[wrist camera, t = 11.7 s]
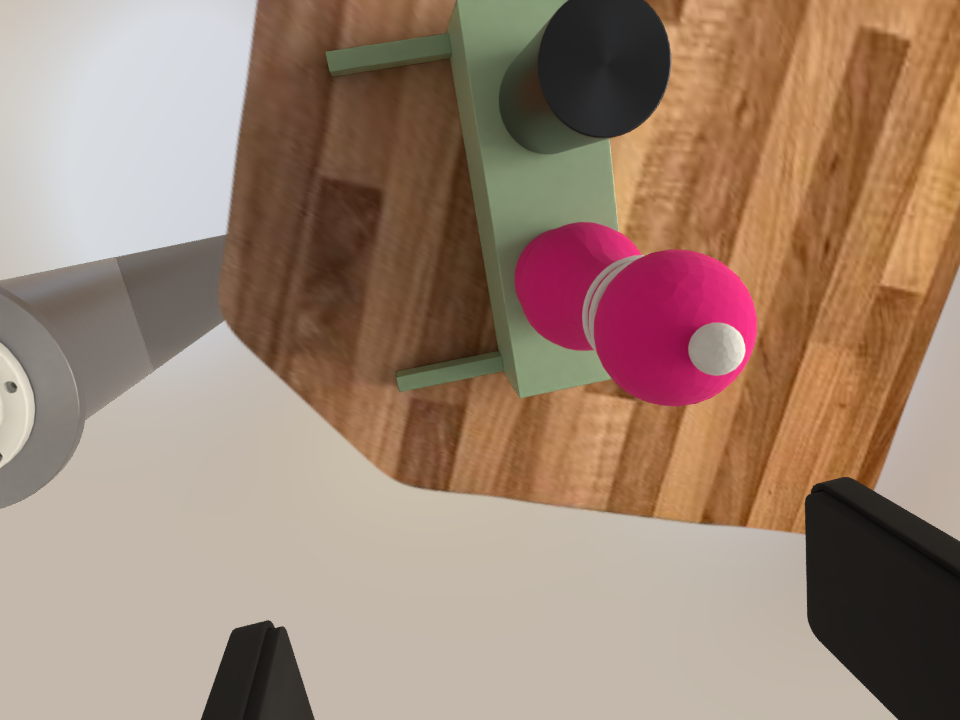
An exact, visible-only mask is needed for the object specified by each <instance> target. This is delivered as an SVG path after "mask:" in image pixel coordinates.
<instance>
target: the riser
mask: <svg viewBox="0 0 960 720" xmlns="http://www.w3.org/2000/svg"><path fill="white" fill-rule="evenodd" d="M567 1H568V0H456V3H455V6H454V9H453V13H452V16H451V19H450V22H449V25H448V28H447V32H446V34H439V35H433V36H426V37H420V38H413V39H406V40H400V41H393V42H387V43H380V44H373V45H367V46H360V47H354V48H347V49H340V50H334V51H327V52H325V54H326V58H327V63H328V67H329V72H330V74H331V76H332V77H334V76H340V75H347V74H353V73H359V72H366V71H372V70H379V69H385V68H392V67H398V66H404V65H411V64H417V63H424V62H430V61H437V60H443V59H449V58H450V61H451V67H452V73H453V79H454V85H455V91H456V97H457V103H458V109H459V115H460V121H461V128H462V134H463V140H464V146H465V152H466V158H467V164H468V170H469V176H470V182H471V188H472V194H473V200H474V206H475V212H476V218H477V224H478V230H479V236H480V242H481V248H482V254H483V260H484V266H485V272H486V278H487V285H488V291H489V297H490V303H491V309H492V315H493V321H494V327H495V333H496V339H497V345H498V351H499V352H498V351H496V352H491V353H486V354H481V355H476V356H471V357H466V358H461V359H456V360H451V361H446V362H441V363H436V364H431V365H426V366H421V367H416V368H411V369H406V370H401V371H397V372H396V379H397V383H398V388H399V392H403V391H408V390H413V389H418V388H423V387H428V386H433V385H438V384H442V383H447V382H452V381H457V380H462V379H467V378H472V377H477V376H482V375H486V374H491V373H496V372H501V371H503V373H504V374H505V376H506V377H507V379H508V380H509V382H510V383H511V385H512V387H513V388H514V390H515V391H516V393H517V394H518V396H519V398H524V397H528V396H533V395H538V394H543V393H548V392H552V391H557V390H562V389H567V388H571V387H576V386H581V385H586V384H591V383H595V382H600V381H605V380H610V379H612V378H611V377H610V376H609V374H608V373H607V372H606V370H605V369H604V368H603V366H602V363H601V361H600V359H599V357H598V355H597V353H596V351H595V350H590V351H576V350H571V349H566V348H564V347H561V346H559V345H557V344H554V343H552V342H550V341H549V340H547V339H545V338H544V337H543V336H541V335H540V334H539V333H538V332H537V331H536V330H535V329H534V328H533V327H532V326H531V324H530V323H529V321H528V319H527V317H526V316H525V314H524V311H523V308H522V305H521V303H520V301H519V299H518V297H517V294H516V290H515V283H514V282H515V269H516V265H517V262H518V259H519V257H520V255H521V253H522V252H523V250H524V249H525V247H526V246H527V245H528V244H529V243H530V242H531V241H532V240H533V239H535V238H536V237H537V236H539V235H540V234H542V233H544V232H546V231H549V230H552V229H557V228H559V227H561V226H564V225H567V224H571V223H577V222H593V223H597V224H601V225H604V226H607V227H609V228H611V229H614V230H616V231H618V232H619V228H618V218H617V208H616V198H615V189H614V179H613V169H612V159H611V149H610V139H606V140H603V141H599V142H596V143H592V144H589V145H585V146H582V147H578V148H575V149H571V150H568V151H564V152H560V153H556V154H540V153H535V152H532V151H530V150H528V149H526V148H524V147H523V146H521V145H520V144H519V143H517V142H516V141H515V140H514V139H513V138H512V136H511V135H510V134H509V132H508V131H507V129H506V127H505V125H504V123H503V120H502V117H501V114H500V109H499V92H500V86H501V83H502V80H503V77H504V75H505V73H506V71H507V69H508V67H509V66H510V65H511V64H512V62H513V61H514V60H515V59H516V58H517V56H518V55H519V54H520V53H521V52H522V51H523V49H524V48H525V47H526V46H527V45H528V44H529V42H530V41H531V40H532V39H533V38H534V37H535V36H536V34H537V33H538V32H539V31H540V30H541V29H542V27H543V26H544V25H545V24H546V23H547V22H548V20H549V19H550V18H551V17H552V16H553V15H554V14H555V12H556V11H557V10H558V9H559V8H560V7H561V6H562V5H563V4H564V3H565V2H567Z"/></svg>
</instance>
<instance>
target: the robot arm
mask: <svg viewBox="0 0 960 720" xmlns="http://www.w3.org/2000/svg"><path fill="white" fill-rule="evenodd" d="M15 384H16V385H17V386H16V385H15ZM34 415H35V403H34V395H33V391H32V388H31V385H30V382H29V379H28V377H27V375H26V373H25V372H24V370H23V368H22V366H21V365H20V363H19V361H18V360H17V359H16V358H15V357H14V356H13V354H12V353H11V352H10V351H9V350H8V348H6V347H5V346H4V345H3V344H2V343H1V342H0V468H1V467H3V466H4V465H5V464H7V463H8V462H10V461H11V460H12V459H13V458H14V457H15V456H16V455H17V454H18V453H19V452H20V451H21V449H22V448H23V446H24V445H25V443H26V441H27V440H28V438H29V436H30V433H31V430H32V427H33V424H34ZM805 526H806V572H807V573H806V575H807V617H808V622H809V625H810V627H811V630H812V632H813V633H814V635H815V636H816V637H817V639H818V640H819V641H820V642H821V643H822V644H823V645H824V646H825V647H826V648H827V649H828V650H829V651H830V652H831V653H832V654H833V655H834V656H835V657H836V658H837V659H838V660H839V661H840V662H841V663H842V664H843V665H844V666H845V667H846V668H847V669H848V670H849V671H850V672H851V673H852V674H853V675H854V676H855V677H856V678H857V679H858V680H859V681H860V682H861V683H862V684H863V685H864V686H865V687H866V688H867V689H868V690H869V691H870V692H871V693H872V694H873V695H874V696H875V697H876V698H877V699H878V700H879V701H880V702H881V703H882V704H883V705H884V706H885V707H886V708H887V709H888V710H889V711H890V712H891V713H892V714H893V715H894V716H895V717H896V718H897V719H898V720H960V541H958V540H957V539H955V538H953V537H951V536H950V535H948V534H946V533H945V532H943V531H941V530H939V529H938V528H936V527H934V526H932V525H931V524H929V523H927V522H926V521H924V520H922V519H921V518H919V517H917V516H916V515H914V514H912V513H910V512H909V511H907V510H905V509H903V508H902V507H900V506H898V505H897V504H895V503H893V502H892V501H890V500H888V499H886V498H885V497H883V496H881V495H879V494H877V493H876V492H875V491H873V490H871V489H869V488H868V487H866V486H864V485H863V484H861V483H859V482H857V481H856V480H854V479H852V478H849V477H842V478H838V479H834V480H830V481H826V482H822V483H818V484H816V485H814V486H813V488H812V490H811V494H809V495H808V496H807V497H806V499H805ZM201 720H315V719H314V716H313V713H312V710H311V707H310V704H309V701H308V697H307V694H306V691H305V688H304V684H303V681H302V678H301V675H300V672H299V669H298V665H297V662H296V659H295V656H294V652H293V649H292V646H291V643H290V640H289V637H288V634H287V631H286V629H285V627H283V626H282V627H278V628H275V627H274V625H273V623H272V622H271V621H269V620H268V621H264V622H260V623H256V624H251V625H247V626H244V627H240V628H236V629H234V630H233V631H232V633H231V635H230V638H229V641H228V643H227V646H226V649H225V652H224V655H223V658H222V661H221V664H220V666H219V669H218V672H217V675H216V678H215V681H214V683H213V687H212V689H211V692H210V695H209V698H208V701H207V704H206V707H205V710H204V712H203V715H202V718H201Z"/></svg>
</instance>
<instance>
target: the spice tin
mask: <svg viewBox="0 0 960 720" xmlns="http://www.w3.org/2000/svg"><path fill="white" fill-rule="evenodd" d="M670 70H671V50H670V44H669V40H668V36H667V33H666V30H665V28H664V25H663V23H662V22H661V20H660V18H659V16H658V15H657V14H656V12H655V11H654V10H653V8H652V7H651V6H650V5H649V4H648V3H647V2H645V1H644V0H568V1H567V2H565V3H564V4H563V5H562V6H561V7H560V8H559V9H558V10H557V11H556V12H555V14H554V15H553V16H552V17H551V18H550V19H549V20H548V22H547V23H546V24H545V25H544V26H543V27H542V29H541V30H540V31H539V32H538V33H537V34H536V36H535V37H534V38H533V39H532V40H531V41H530V42H529V44H528V45H527V46H526V47H525V48H524V49H523V51H522V52H521V53H520V54H519V55H518V56H517V58H516V59H515V60H514V61H513V62H512V64H511V65H510V66H509V67H508V69H507V71H506V73H505V75H504V77H503V80H502V83H501V86H500V92H499V109H500V114H501V117H502V120H503V123H504V125H505V127H506V129H507V131H508V132H509V134H510V135H511V136H512V138H513V139H514V140H515V141H516V142H517V143H519V144H520V145H521V146H523V147H524V148H526V149H528V150H530V151H532V152H535V153H540V154H556V153H560V152H564V151H568V150H571V149H575V148H578V147H582V146H585V145H589V144H592V143H596V142H599V141H603V140H606V139H610V138H613V137H617V136H620V135H623V134H626V133H628V132H630V131H632V130H634V129H635V128H637V127H638V126H640V125H641V124H642V123H644V122H645V121H646V120H647V119H648V118H649V117H650V116H651V114H652V113H653V112H654V111H655V109H656V108H657V106H658V105H659V103H660V102H661V100H662V98H663V95H664V93H665V91H666V88H667V85H668V81H669V76H670Z"/></svg>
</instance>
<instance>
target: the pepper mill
mask: <svg viewBox="0 0 960 720" xmlns="http://www.w3.org/2000/svg"><path fill="white" fill-rule="evenodd" d="M514 283H515V290H516V294H517V297H518V299H519V301H520V303H521V305H522V308H523V311H524V314H525V316H526V317H527V319H528V321H529V323H530V324H531V326H532V327H533V328H534V329H535V330H536V331H537V332H538V333H539V334H540V335H541V336H543V337H544V338H545V339H547V340H549V341H550V342H552V343H554V344H557V345H559V346H561V347H564V348H566V349H571V350H576V351H590V350H595V351H596V353H597V355H598V357H599V359H600V361H601V363H602V366H603V368H604V369H605V370H606V372H607V373H608V374H609V376H610V377H611V378H612V379H613V380H614V381H615V382H616V384H617V385H619V386H620V387H621V388H622V389H624V390H625V391H626V392H628V393H629V394H631V395H633V396H635V397H637V398H639V399H642V400H644V401H646V402H649V403H654V404H658V405H664V406H683V405H689V404H696V403H699V402H702V401H704V400H707V399H710V398H712V397H713V396H715V395H716V394H718V393H720V392H721V391H723V390H724V389H725V388H726V387H727V386H728V385H730V384H731V383H732V382H733V381H734V380H735V379H736V377H737V376H738V375H739V374H740V373H741V372H742V371H743V369H744V367H745V365H746V364H747V362H748V360H749V358H750V356H751V353H752V350H753V348H754V344H755V339H756V334H757V316H756V312H755V307H754V303H753V301H752V298H751V296H750V294H749V291H748V289H747V288H746V287H745V285H744V284H743V282H742V281H741V279H740V278H739V277H738V276H737V275H736V274H735V273H734V272H733V271H731V270H730V269H729V268H728V267H727V266H725V265H724V264H723V263H721V262H720V261H718V260H716V259H714V258H712V257H709V256H707V255H704V254H702V253H698V252H694V251H687V250H665V251H660V252H655V253H651V254H648V255H642V254H641V253H640V252H639V250H638V249H637V247H636V246H635V245H634V244H633V243H632V242H631V241H630V240H629V239H628V238H627V237H626V236H624V235H623V234H621V233H620V232H618V231H616V230H614V229H611V228H609V227H607V226H604V225H601V224H597V223H593V222H577V223H571V224H567V225H564V226H561V227H559V228H557V229H552V230H549V231H546V232H544V233H542V234H540V235H539V236H537V237H536V238H535V239H533V240H532V241H531V242H530V243H529V244H528V245H527V246H526V247H525V249H524V250H523V252H522V253H521V255H520V257H519V259H518V262H517V265H516V269H515V282H514Z"/></svg>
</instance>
